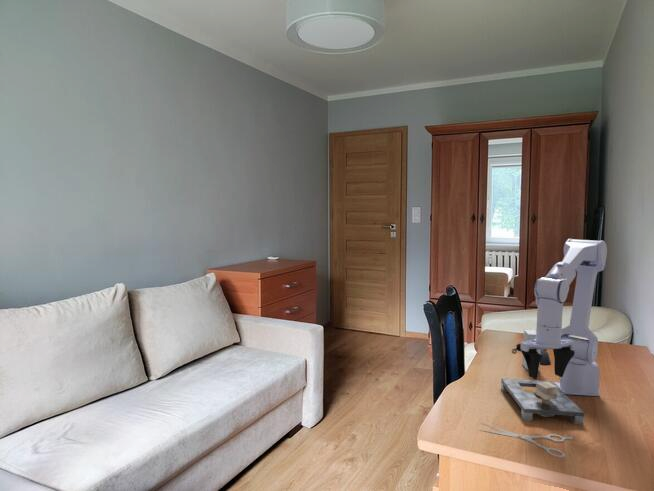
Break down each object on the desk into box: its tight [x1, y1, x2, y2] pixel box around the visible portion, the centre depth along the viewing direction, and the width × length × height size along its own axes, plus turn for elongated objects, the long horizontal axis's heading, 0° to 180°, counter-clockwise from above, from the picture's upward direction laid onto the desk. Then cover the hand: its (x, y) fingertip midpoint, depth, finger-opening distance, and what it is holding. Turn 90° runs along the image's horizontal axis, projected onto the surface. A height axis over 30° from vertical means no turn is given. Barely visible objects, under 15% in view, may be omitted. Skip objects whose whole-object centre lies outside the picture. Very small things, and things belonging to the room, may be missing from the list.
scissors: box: [481, 422, 574, 458], centre depth 101 cm, size 11×1×20 cm
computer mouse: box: [511, 343, 552, 366], centre depth 160 cm, size 12×18×4 cm
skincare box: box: [521, 329, 541, 372], centre depth 147 cm, size 6×4×12 cm
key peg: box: [535, 382, 558, 418], centre depth 114 cm, size 4×4×8 cm
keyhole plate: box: [500, 378, 585, 425], centre depth 119 cm, size 14×20×3 cm
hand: (546, 376), depth 114 cm, fingers open, 7 cm apart
